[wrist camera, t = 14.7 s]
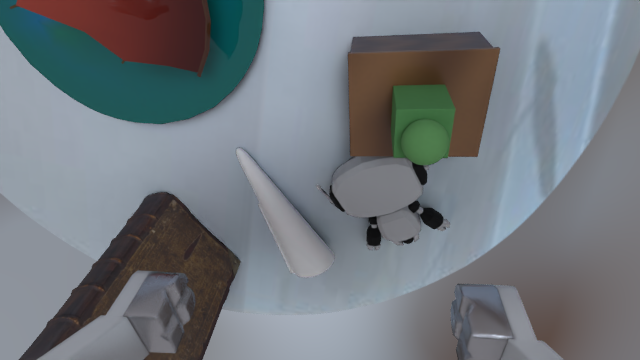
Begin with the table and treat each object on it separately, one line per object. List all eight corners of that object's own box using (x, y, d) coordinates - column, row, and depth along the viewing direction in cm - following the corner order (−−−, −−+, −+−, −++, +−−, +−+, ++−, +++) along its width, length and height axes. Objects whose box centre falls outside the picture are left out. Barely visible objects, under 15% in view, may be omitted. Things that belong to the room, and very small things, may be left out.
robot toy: (451, 211, 49) (411, 123, 41) (459, 237, 46) (416, 146, 38) (367, 237, 54) (315, 162, 46) (367, 262, 50) (312, 186, 42)
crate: (482, 29, 35) (500, 48, 30) (465, 127, 41) (477, 156, 36) (351, 34, 37) (348, 53, 32) (352, 128, 43) (350, 156, 38)
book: (140, 195, 52) (-3, 372, 32) (178, 181, 50) (50, 362, 30) (208, 270, 61) (128, 448, 41) (244, 261, 58) (177, 445, 38)
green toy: (445, 84, 32) (463, 127, 26) (439, 129, 35) (454, 179, 29) (392, 85, 33) (398, 127, 27) (390, 130, 36) (395, 178, 29)
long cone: (285, 127, 45) (338, 246, 54) (242, 139, 48) (299, 251, 56) (268, 148, 41) (330, 275, 49) (221, 160, 43) (287, 279, 51)
